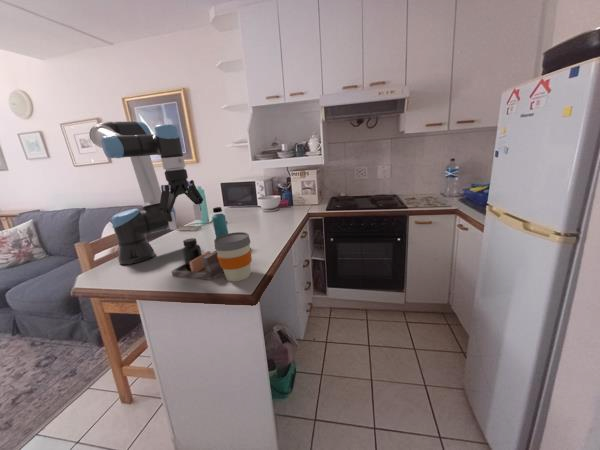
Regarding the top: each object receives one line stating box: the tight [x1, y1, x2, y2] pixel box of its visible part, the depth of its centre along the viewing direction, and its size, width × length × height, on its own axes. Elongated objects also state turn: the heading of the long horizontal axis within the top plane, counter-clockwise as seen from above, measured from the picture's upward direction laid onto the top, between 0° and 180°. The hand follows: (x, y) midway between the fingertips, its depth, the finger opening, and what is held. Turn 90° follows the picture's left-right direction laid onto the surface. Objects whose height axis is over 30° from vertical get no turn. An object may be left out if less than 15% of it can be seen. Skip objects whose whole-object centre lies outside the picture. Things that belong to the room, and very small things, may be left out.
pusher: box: [189, 250, 212, 272], centre depth 106 cm, size 1×11×5 cm, turn 160°
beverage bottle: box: [211, 206, 229, 239], centre depth 130 cm, size 6×7×20 cm
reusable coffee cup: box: [214, 231, 252, 282], centre depth 96 cm, size 13×13×15 cm
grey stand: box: [171, 249, 224, 281], centre depth 105 cm, size 19×14×9 cm
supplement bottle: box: [181, 237, 202, 271], centre depth 106 cm, size 7×7×12 cm
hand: (187, 224), depth 104 cm, fingers open, 13 cm apart
